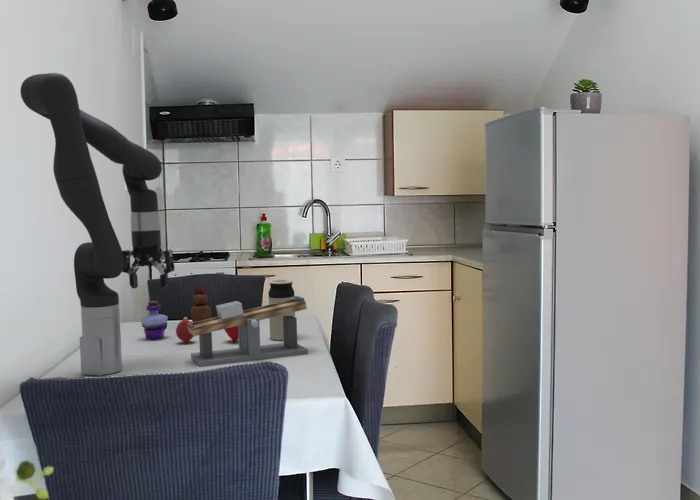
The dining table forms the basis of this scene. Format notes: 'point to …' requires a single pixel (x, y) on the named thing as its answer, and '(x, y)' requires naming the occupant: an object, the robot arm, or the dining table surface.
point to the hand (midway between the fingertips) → (149, 288)
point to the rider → (229, 310)
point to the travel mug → (277, 293)
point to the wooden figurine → (200, 306)
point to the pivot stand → (250, 345)
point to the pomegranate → (184, 331)
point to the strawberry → (232, 333)
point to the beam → (247, 316)
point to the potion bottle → (154, 322)
